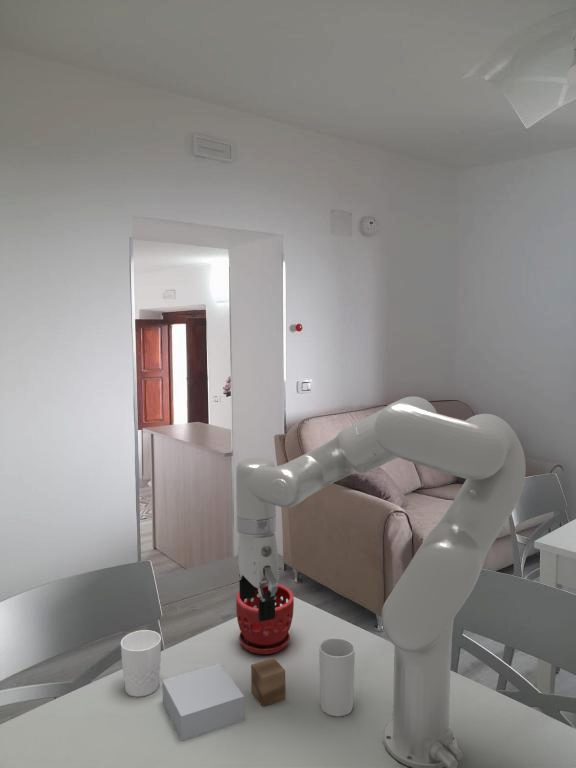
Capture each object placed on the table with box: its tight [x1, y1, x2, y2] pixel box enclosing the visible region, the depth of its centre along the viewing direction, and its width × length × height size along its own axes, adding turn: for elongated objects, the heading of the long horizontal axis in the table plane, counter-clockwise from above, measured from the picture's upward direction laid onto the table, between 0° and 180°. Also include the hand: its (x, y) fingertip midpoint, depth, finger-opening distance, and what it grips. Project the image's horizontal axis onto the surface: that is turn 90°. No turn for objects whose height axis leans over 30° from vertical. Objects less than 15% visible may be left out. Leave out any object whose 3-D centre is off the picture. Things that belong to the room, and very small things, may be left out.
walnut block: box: [250, 657, 286, 708], centre depth 116 cm, size 5×5×6 cm
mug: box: [318, 637, 356, 717], centre depth 114 cm, size 10×7×12 cm, turn 172°
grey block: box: [161, 662, 245, 742], centre depth 111 cm, size 12×12×5 cm
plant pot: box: [235, 582, 295, 655], centre depth 134 cm, size 13×13×12 cm
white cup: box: [120, 629, 162, 698], centre depth 118 cm, size 8×8×10 cm
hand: (256, 608), depth 115 cm, fingers open, 9 cm apart
